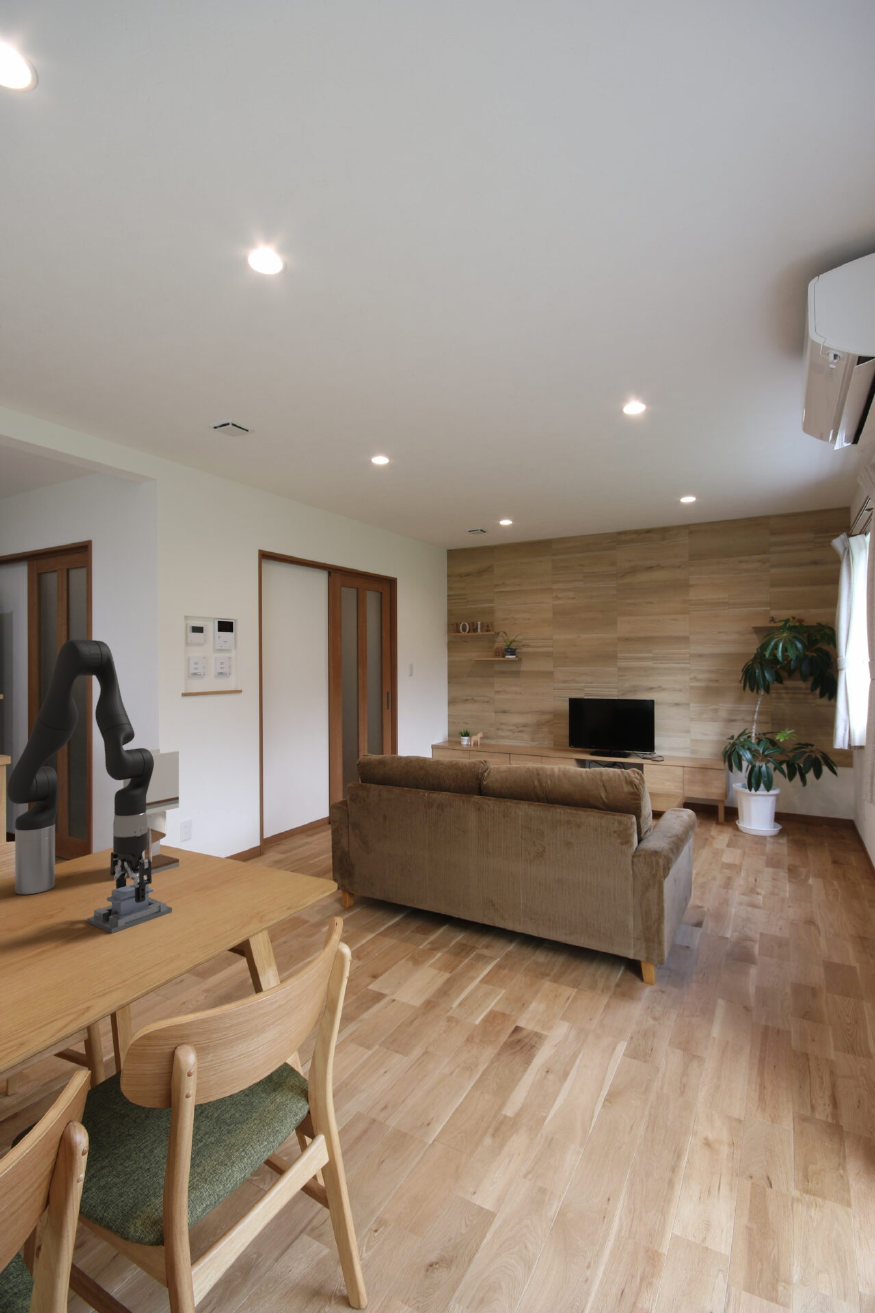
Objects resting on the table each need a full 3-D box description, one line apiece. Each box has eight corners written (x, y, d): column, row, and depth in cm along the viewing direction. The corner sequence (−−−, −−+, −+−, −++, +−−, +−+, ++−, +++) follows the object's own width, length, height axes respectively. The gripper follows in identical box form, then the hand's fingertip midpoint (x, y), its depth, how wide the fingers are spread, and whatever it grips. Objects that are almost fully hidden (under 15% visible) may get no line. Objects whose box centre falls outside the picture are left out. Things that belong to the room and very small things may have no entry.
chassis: (111, 933, 144) (111, 922, 144) (87, 922, 150) (87, 912, 150) (171, 912, 156) (171, 901, 156) (147, 902, 162) (147, 893, 162)
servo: (115, 921, 148) (115, 891, 148) (106, 917, 150) (106, 887, 150) (153, 908, 156) (153, 879, 156) (144, 904, 158) (144, 876, 158)
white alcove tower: (144, 876, 183) (143, 756, 183) (123, 870, 188) (123, 753, 189) (179, 865, 192) (178, 751, 193) (158, 860, 198) (158, 749, 198)
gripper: (99, 830, 154) (99, 897, 154) (131, 839, 146) (131, 909, 146) (129, 824, 160) (129, 888, 160) (161, 832, 152) (161, 899, 152)
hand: (130, 898), depth 153 cm, fingers open, 8 cm apart
